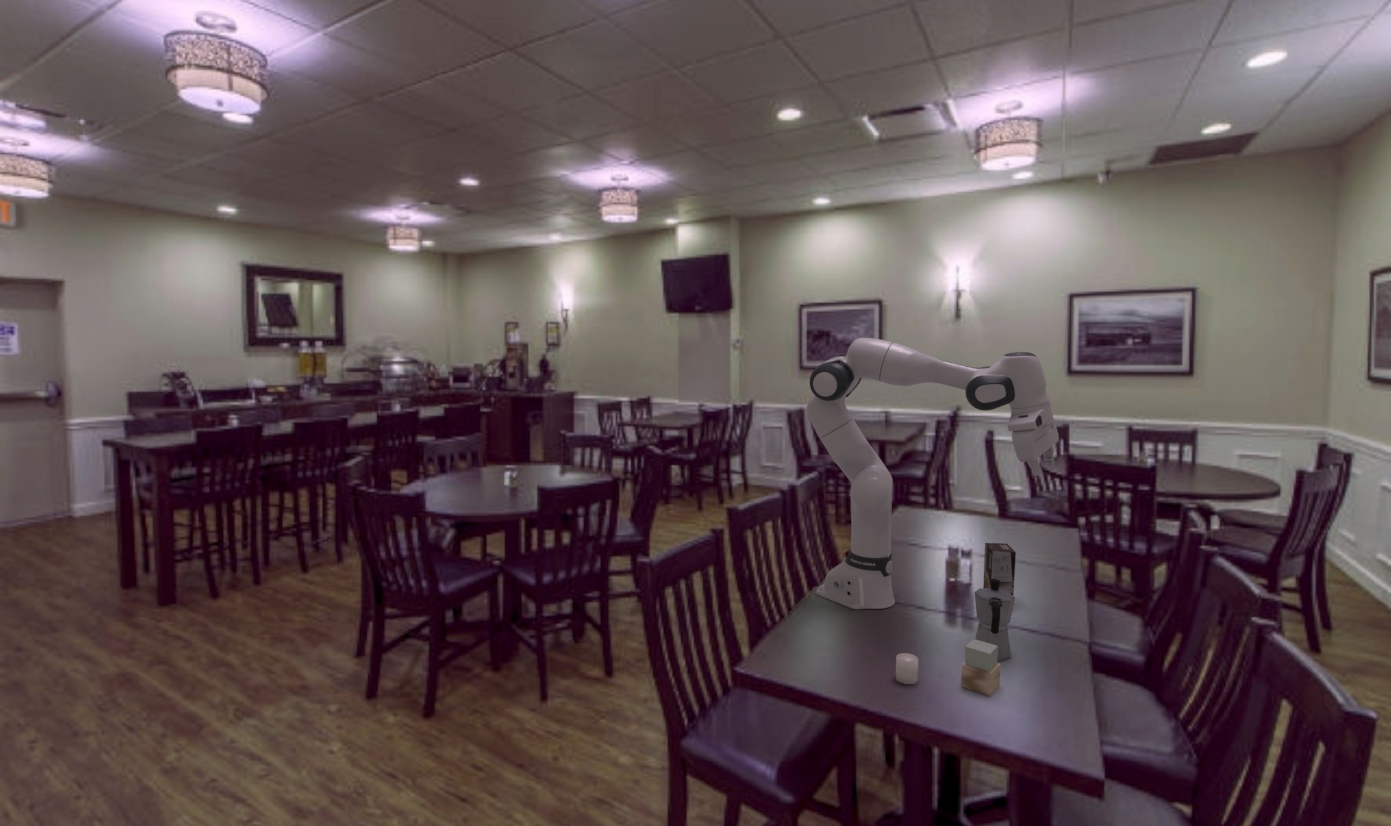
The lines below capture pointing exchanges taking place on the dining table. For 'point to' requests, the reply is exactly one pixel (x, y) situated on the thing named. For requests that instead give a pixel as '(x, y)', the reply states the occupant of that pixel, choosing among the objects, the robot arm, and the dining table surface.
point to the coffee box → (999, 566)
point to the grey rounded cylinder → (906, 668)
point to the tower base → (981, 679)
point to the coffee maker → (994, 617)
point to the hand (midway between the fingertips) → (1043, 469)
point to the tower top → (981, 655)
